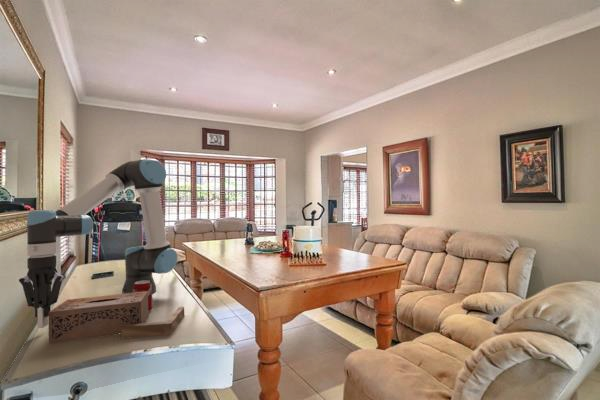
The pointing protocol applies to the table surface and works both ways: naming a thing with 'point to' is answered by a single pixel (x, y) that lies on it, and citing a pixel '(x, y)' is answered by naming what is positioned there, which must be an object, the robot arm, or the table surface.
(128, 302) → the tissue box cover
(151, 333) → the walnut fence
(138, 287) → the soda can
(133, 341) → the table surface
